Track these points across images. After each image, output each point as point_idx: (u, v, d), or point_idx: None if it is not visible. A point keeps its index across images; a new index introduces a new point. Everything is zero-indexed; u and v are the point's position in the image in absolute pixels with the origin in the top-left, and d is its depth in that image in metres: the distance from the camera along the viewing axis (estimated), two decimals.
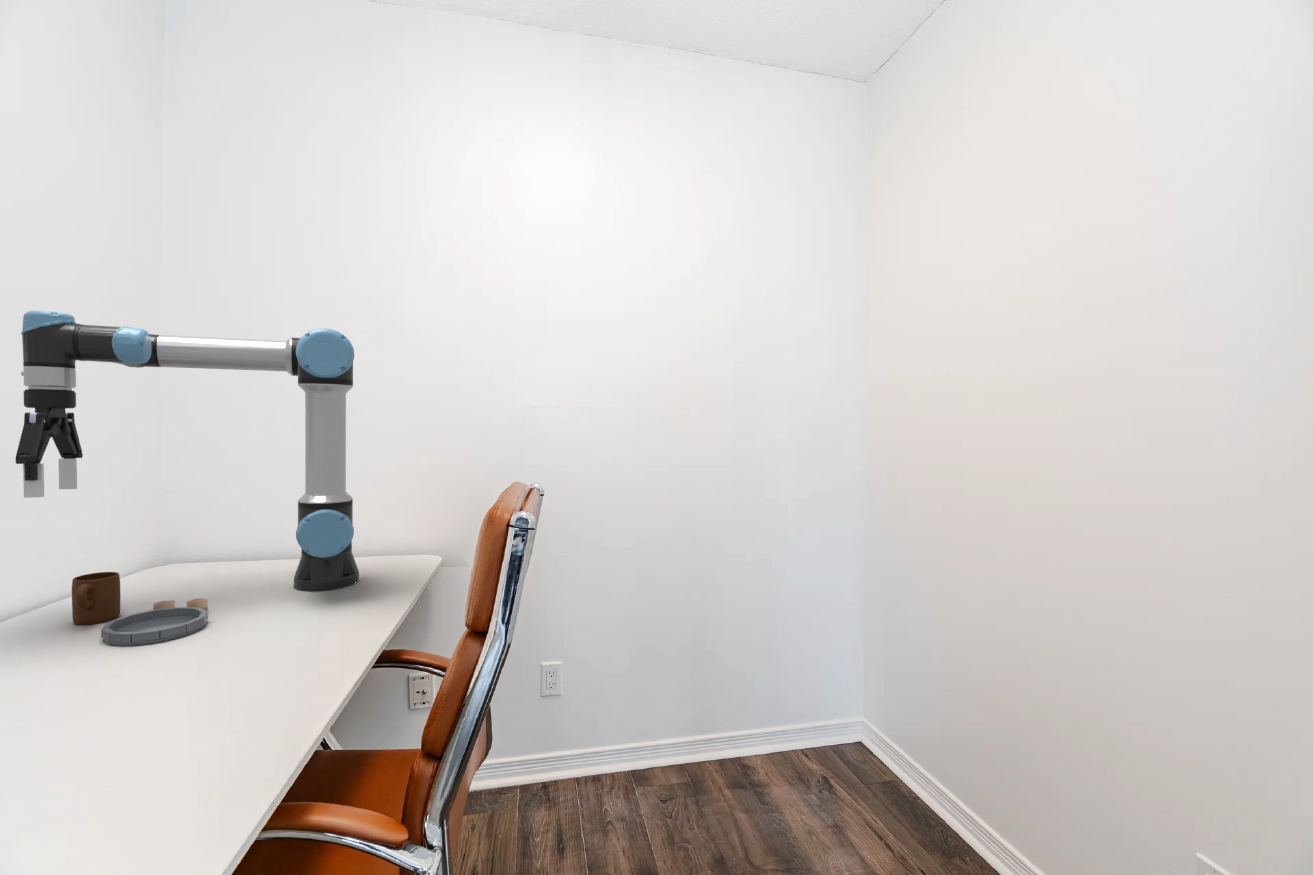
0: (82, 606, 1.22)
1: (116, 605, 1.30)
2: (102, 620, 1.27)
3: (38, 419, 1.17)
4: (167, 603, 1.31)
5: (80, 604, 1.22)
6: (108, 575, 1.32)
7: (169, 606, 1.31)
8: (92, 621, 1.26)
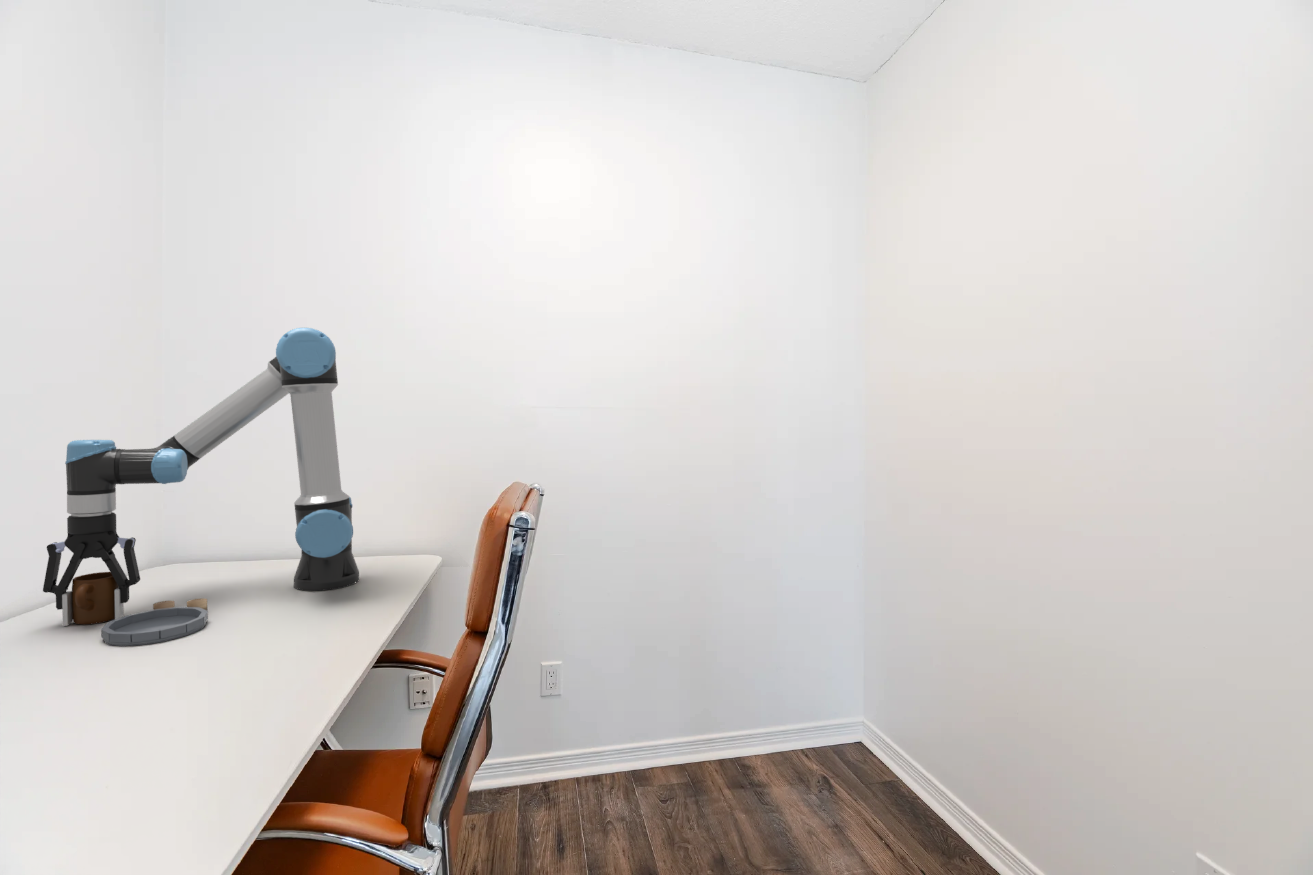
0: (82, 606, 1.22)
1: None
2: (102, 620, 1.27)
3: None
4: (167, 603, 1.31)
5: (80, 604, 1.22)
6: (108, 575, 1.32)
7: (169, 606, 1.31)
8: (92, 621, 1.26)
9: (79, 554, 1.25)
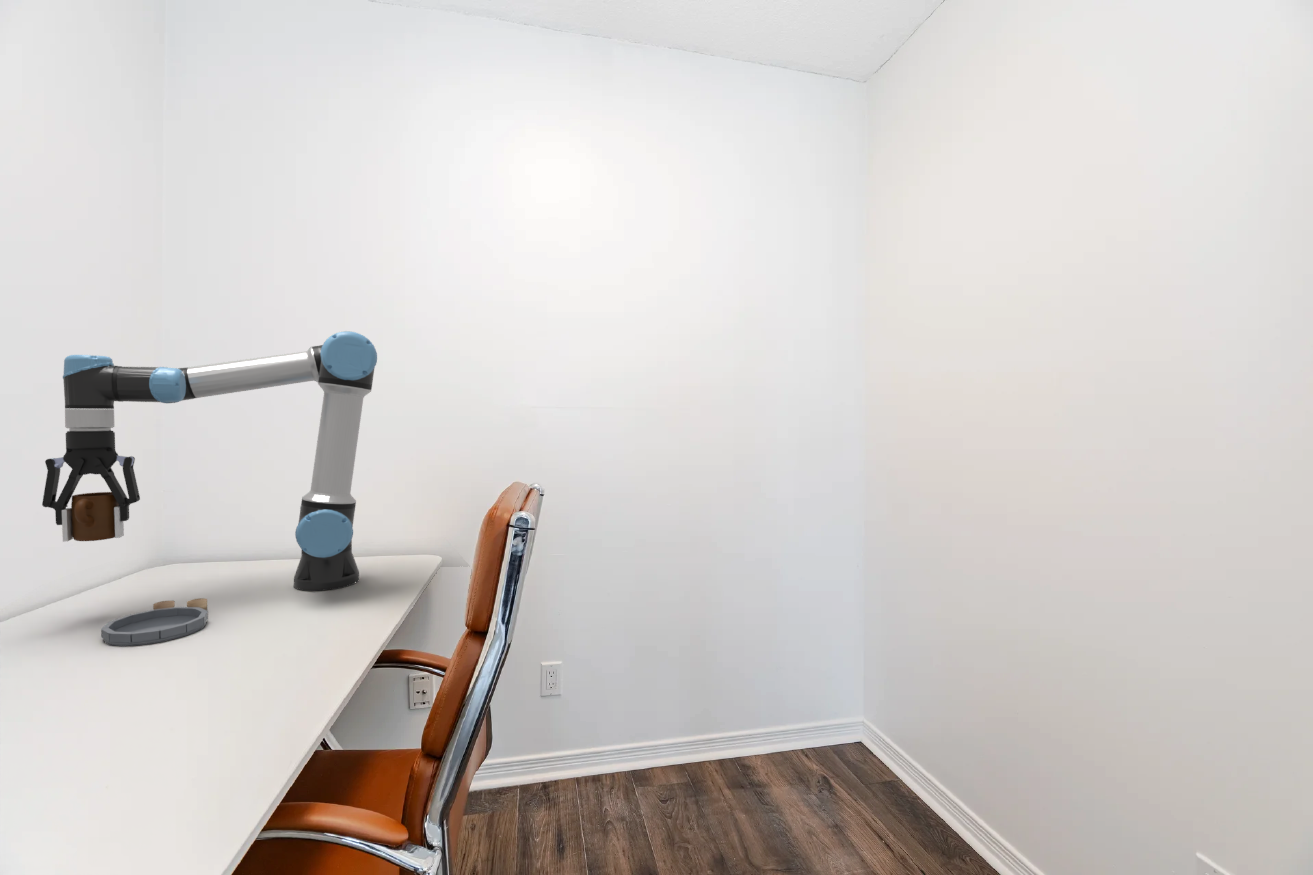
0: (82, 520, 1.22)
1: None
2: (102, 537, 1.27)
3: None
4: (167, 603, 1.31)
5: (80, 518, 1.21)
6: None
7: (169, 606, 1.31)
8: (92, 537, 1.26)
9: (78, 469, 1.24)
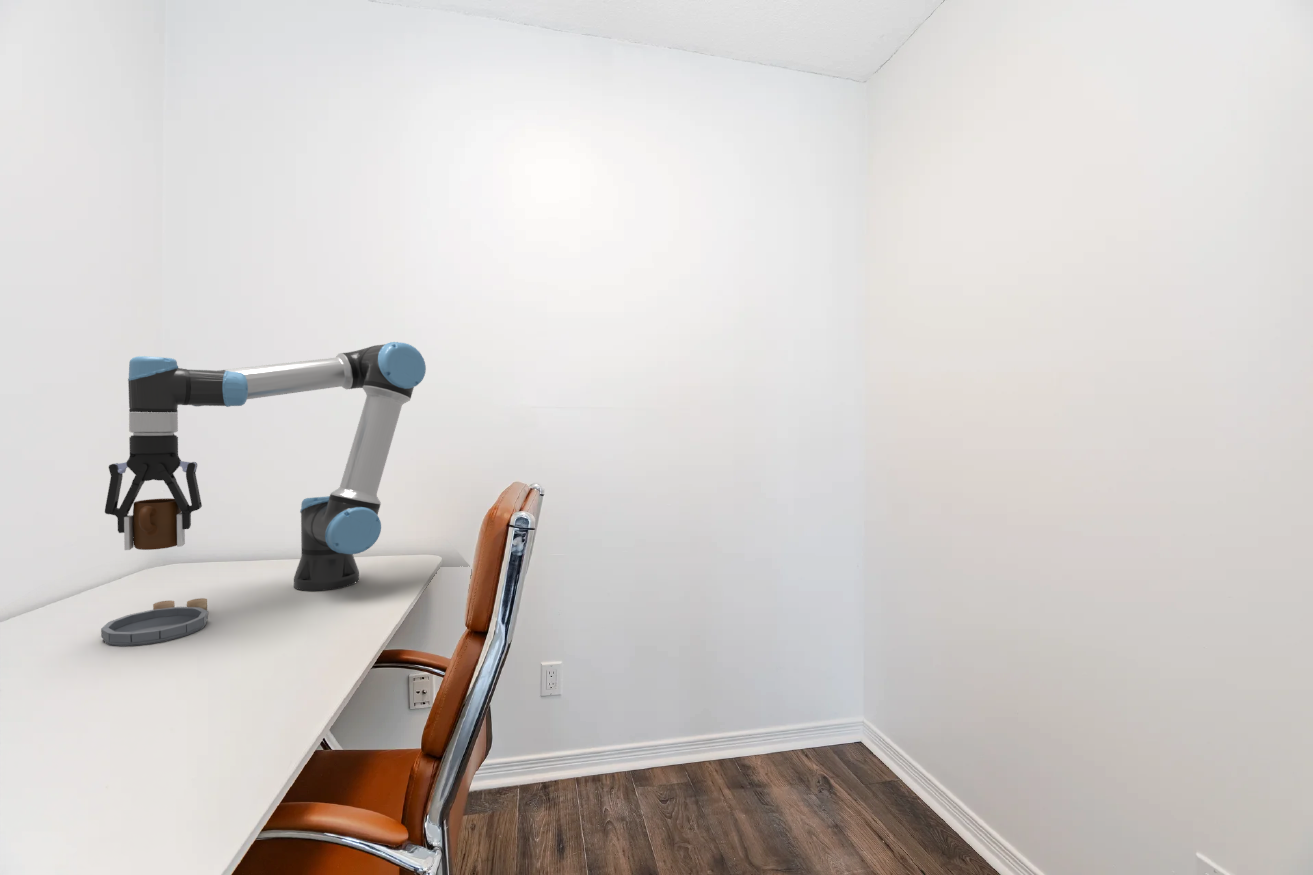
0: (146, 528, 1.17)
1: None
2: (164, 546, 1.22)
3: None
4: (167, 603, 1.31)
5: (144, 526, 1.17)
6: (168, 502, 1.27)
7: (169, 606, 1.31)
8: (154, 546, 1.21)
9: (141, 475, 1.20)
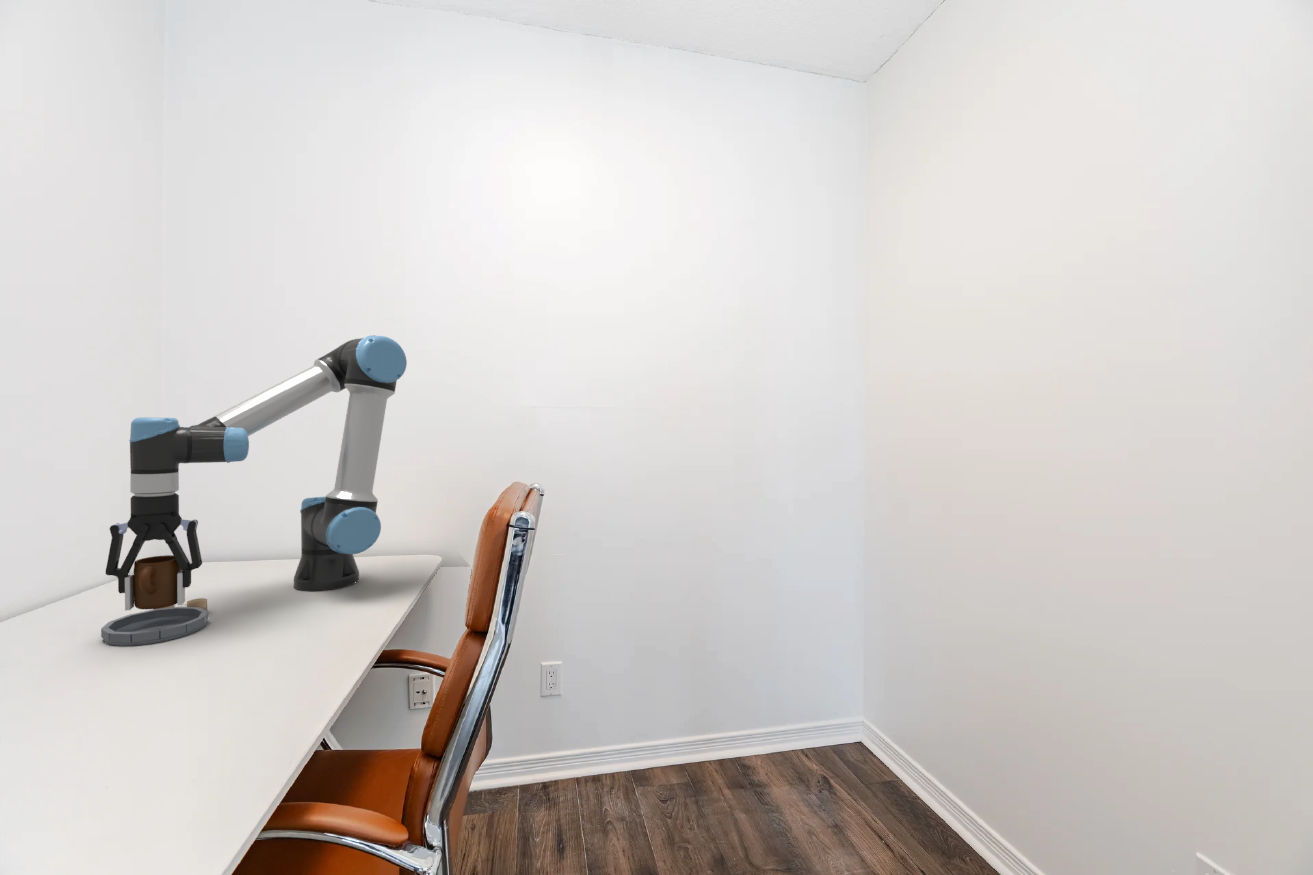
0: (146, 589, 1.18)
1: None
2: (164, 605, 1.22)
3: None
4: None
5: (144, 587, 1.17)
6: (169, 559, 1.27)
7: (169, 606, 1.31)
8: (155, 606, 1.21)
9: (142, 536, 1.20)
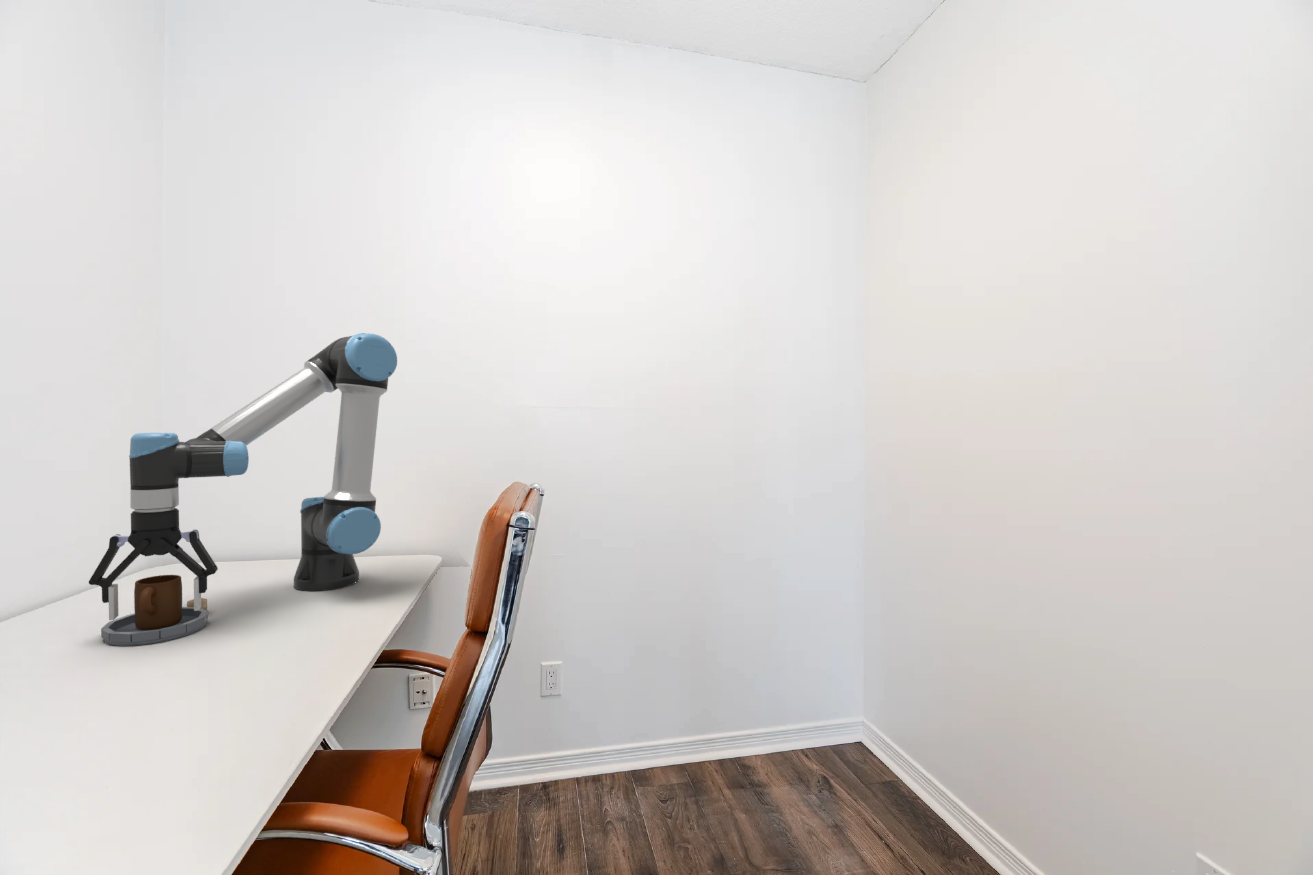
0: (147, 610, 1.18)
1: (178, 609, 1.25)
2: (165, 625, 1.23)
3: None
4: None
5: (145, 608, 1.17)
6: (169, 578, 1.28)
7: None
8: (155, 626, 1.21)
9: (139, 551, 1.20)
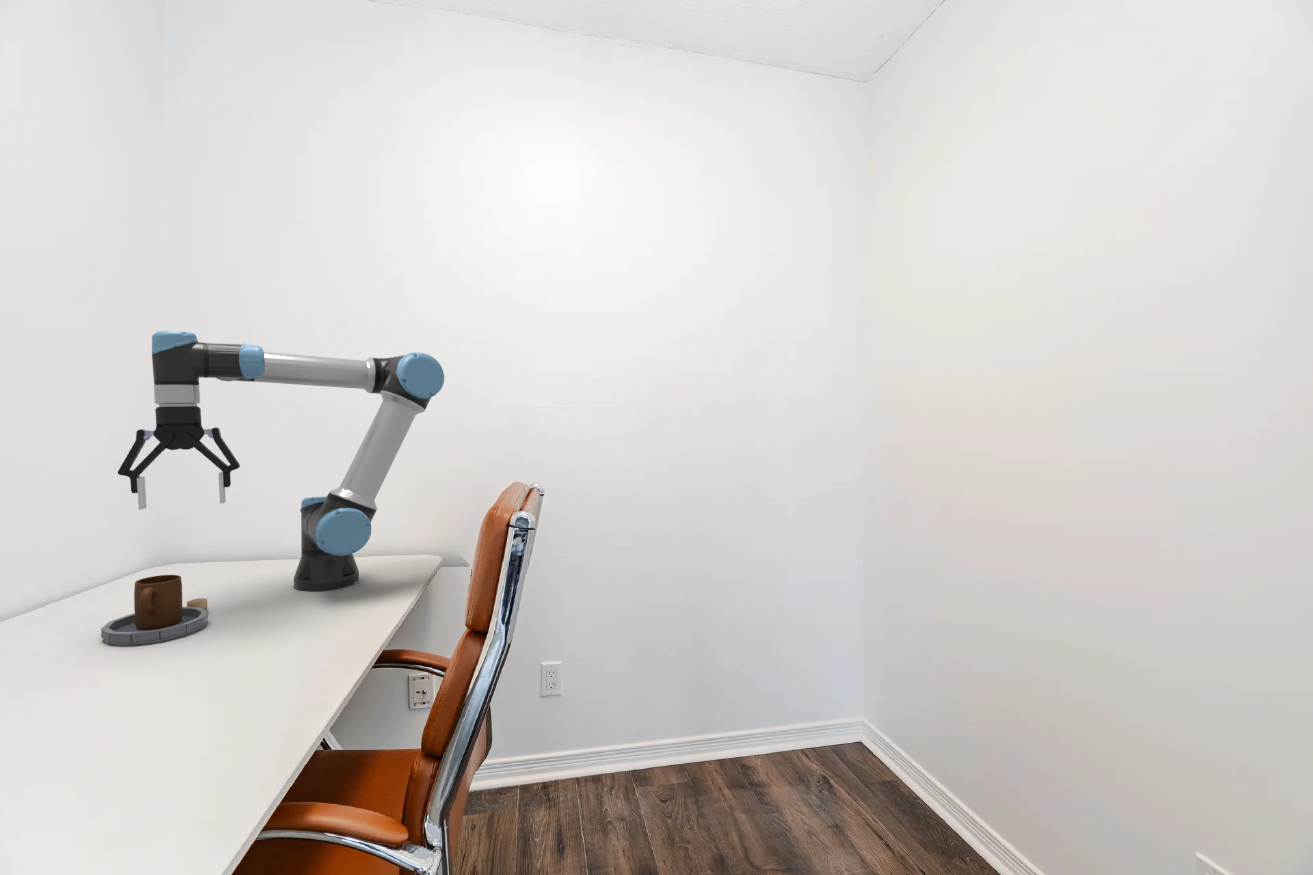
0: (147, 611, 1.18)
1: (178, 609, 1.25)
2: (165, 625, 1.23)
3: None
4: None
5: (145, 608, 1.17)
6: (169, 578, 1.28)
7: None
8: (155, 626, 1.21)
9: (165, 444, 1.25)
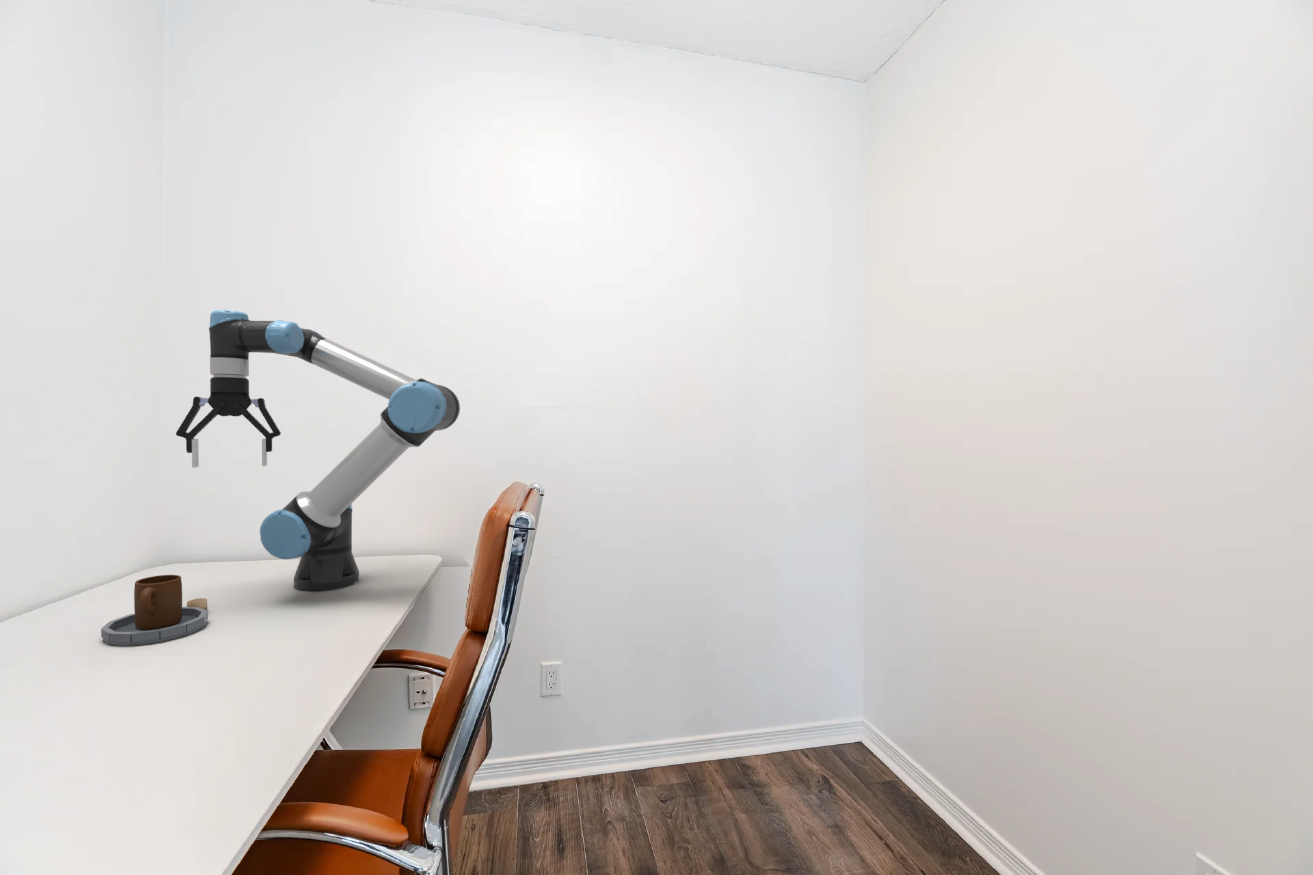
0: (147, 611, 1.18)
1: (178, 609, 1.25)
2: (165, 625, 1.23)
3: (193, 402, 1.40)
4: None
5: (145, 608, 1.17)
6: (169, 578, 1.28)
7: None
8: (155, 626, 1.21)
9: (217, 410, 1.41)
